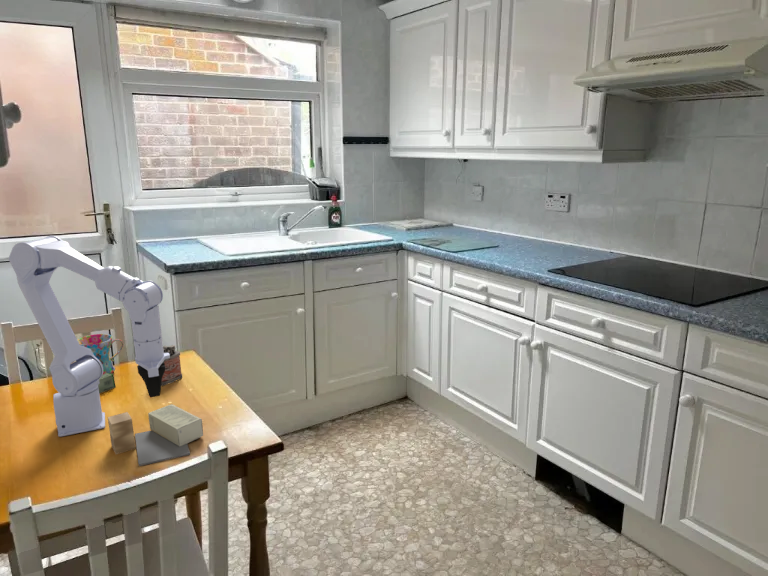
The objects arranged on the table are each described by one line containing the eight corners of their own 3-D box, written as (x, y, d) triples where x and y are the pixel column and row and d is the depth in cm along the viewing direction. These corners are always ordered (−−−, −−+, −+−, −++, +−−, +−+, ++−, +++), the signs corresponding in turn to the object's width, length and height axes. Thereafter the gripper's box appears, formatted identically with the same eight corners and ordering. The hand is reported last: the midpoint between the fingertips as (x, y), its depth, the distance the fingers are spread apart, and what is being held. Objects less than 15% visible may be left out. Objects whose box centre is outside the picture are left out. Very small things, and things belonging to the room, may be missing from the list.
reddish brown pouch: (177, 374, 161) (174, 341, 159) (185, 377, 160) (181, 343, 157) (152, 384, 155) (147, 349, 153) (159, 387, 153) (155, 352, 151)
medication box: (111, 385, 155) (108, 371, 154) (116, 387, 154) (114, 373, 153) (66, 402, 146) (63, 387, 145) (72, 404, 144) (69, 389, 143)
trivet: (138, 466, 116) (138, 464, 116) (135, 435, 128) (134, 433, 128) (190, 454, 120) (189, 452, 120) (181, 425, 132) (181, 424, 132)
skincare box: (149, 429, 130) (178, 448, 122) (147, 412, 129) (176, 429, 121) (174, 419, 135) (204, 436, 127) (173, 402, 133) (202, 418, 126)
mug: (84, 384, 156) (78, 347, 153) (77, 373, 163) (72, 338, 160) (130, 373, 163) (126, 337, 160) (122, 363, 170) (117, 329, 167)
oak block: (115, 454, 121) (111, 424, 119) (111, 446, 124) (107, 417, 122) (135, 448, 123) (131, 418, 121) (131, 440, 126) (127, 411, 124)
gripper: (171, 345, 120) (177, 404, 123) (164, 325, 132) (170, 380, 136) (134, 350, 117) (142, 411, 120) (131, 330, 129) (138, 385, 133)
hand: (154, 395), depth 128 cm, fingers closed
